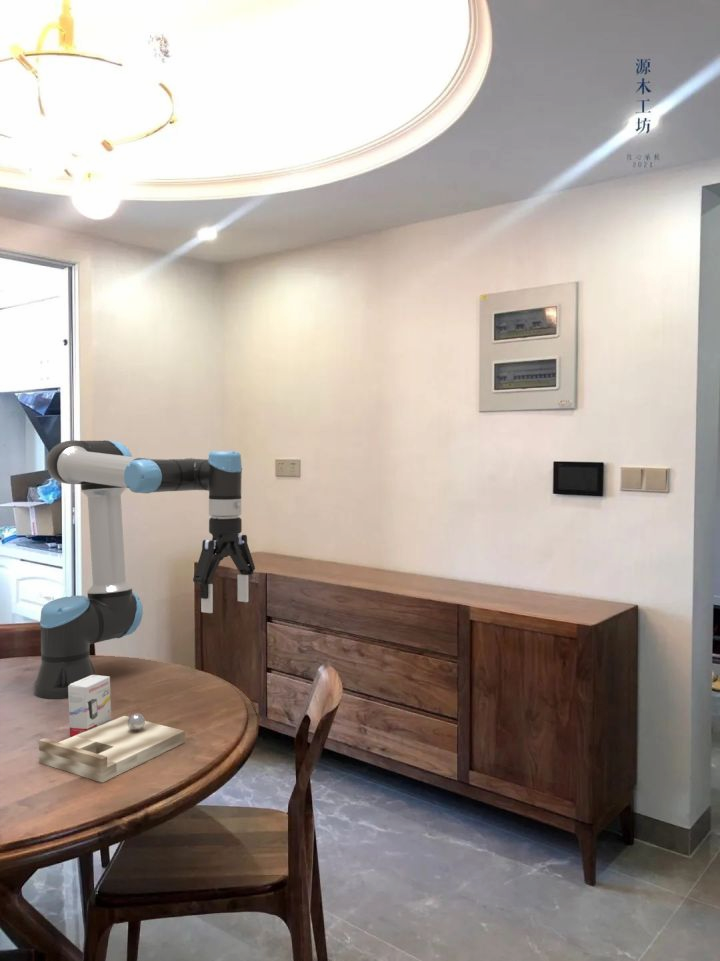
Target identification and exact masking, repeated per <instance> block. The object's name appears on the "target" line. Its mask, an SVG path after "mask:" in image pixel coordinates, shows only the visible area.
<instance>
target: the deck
mask: <svg viewBox="0 0 720 961" xmlns="http://www.w3.org/2000/svg"><path fill="white" fill-rule="evenodd" d="M129 717H130V716H126V715H123V716H120V717H118V718H115V719H111V721H110V722H107V723H105V724H103V725H100V726H98V727H95V728H93V729H90V730H88V731H85V732H83V733H80V734H78V735H75V736H73V737H70V736H69V737H68V738H66V739H63V740H61V741H59V742H58V741H54V740H51V739H48V738H41V739H39V740H38V762H39V763H40V764H43V765H46V766H49V767H51V768H56V769H58V770H61V771H65V772H68V773H71V774H73V775H77V776H80V777H84V778H87V779H90V780H92V781H95V782H99V783H105V782H107V781H109V780H111V779H113V778H115V777H117V776H118V775H121V774H123V773H125V772H127V771H129V770H131V769H133V768H135V767H137V766H140V765H141V764H144V763H145V762H149V760H151V759H154V758H155V757H158V756H160V755H162V754H165V753H166V752H168V751H170V750H172V749H174V748H176V747H178V746H180V745H182V744H185V742H186V739H185V736H186V735H185V732H186V731H185V730H182V729H178V728H174V727H171V726H167V725H162V724H159V723H155V722H151V721H146V720H145V724H144V727H143V728H142V729H141V730H139V731H132V730H130V729H129V727H128V725H127V721H128V719H129Z"/></svg>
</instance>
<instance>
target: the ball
mask: <svg viewBox="0 0 720 961" xmlns="http://www.w3.org/2000/svg"><path fill="white" fill-rule="evenodd" d="M128 717H129V719H128V721H127V725H128V727H129V729H130V730H132V731H139V730H141V729H142V728H143V727H144V724H145V721H146V719H145V717H144V716H143V714H141V713H137V712H136V713H133V714H131V715H130V716H128Z"/></svg>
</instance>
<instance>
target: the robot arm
mask: <svg viewBox="0 0 720 961" xmlns="http://www.w3.org/2000/svg"><path fill="white" fill-rule="evenodd" d="M46 469H47V471H48V474H49V475H50V476H51V477H52V478H53V480H56V481H57V482H59V483H63V484H67V485H80V488H81V489H80V490H81V492H82V493H83V494H84V495H85V496H86V497H87V506H88V509H87V510H88V526H89V542H90V560H91V575H92V579H91V580H92V585H91V587H90V588H89V589H88V590H87V596H86V595H71V596H63V597H60V598H56V599H53V600H50V601H48V602H47V603H45V604H44V606H42V608H41V610H40V621H39V625H40V653H41V654H40V656H41V657H40V658H41V663H40V665H39V669H38V672H37V675H36V679H35V682H34V687H33V688H34V690H33V692H34V695H35V696H37V697H40V698H44V699H66V698H68V686H69V685H70V684H71V683H74V682H76V681H79V680H81V679H83V678H86V677H88V676H90V675H97V674H96V672H95V668H94V666H93V663H92V661H91V658H90V645H93V644H97V643H101V642H105V641H109V640H113V639H114V640H115V639H121V638H124V637H125V636H129V635H131V634H133V633H135V632H136V630H137V629H138V628H139V627H140V624H141V622H142V618H143V614H144V612H143V604H142V601H141V599H140V596H138V594H136V593H135V592H133V587H132V586H131V585H130V584H129V583H128V582H127V581H126V578H127V576H126V564H125V547H124V546H125V545H124V529H123V512H122V493H124V491H126V489H129V490H130V491H131V492H133V493H135V494H137V493H138V494H150V493H164V492H183V491H184V492H185V491H187V492H188V491H208V515H209V516H210V517H209V519H208V532H209V534H210V535H212V539H211V540H210V539H203V540H202V545H201V552H200V555H199V558H198V561H197V562H198V563H197V565H196V569H195V572H194V575H193V578H192V581H193V582H194V583H195V584H199V597H200V604H201V605H200V606H201V607H200V608H201V610H200V611H201V613H205V614H206V613H207V614H213V610H214V607H213V606H214V605H213V604H214V602H213V601H214V600H213V597H214V592H213V590H214V589H213V588H214V586H213V583H211V582H212V580H213V577H214V576H215V573H216V571H217V569H218V568H219V565H220V563H221V561H223V560H224V558H228V557H230V558H231V561H232V562H233V563H234V565H235V567H236V569H237V570H238V572H239V573H240V574H239V573H238V574H237V602H241V603H242V602H243V603H248V602H249V586H250V576H252V575H253V574H254V571H255V570H256V566H255V562H254V560H253V556H252V554H251V550H250V548H249V545H248V536H247V535H246V534H241V533H242V530H243V529H242V528H243V527H242V518H241V517H240V516H241V515H242V473H243V472H242V471H243V468H242V457H241V454H240V452H239V451H237V450H235V451H234V450H233V451H232V450H227V451H226V450H225V451H223V450H220V451H219V450H217V451H216V450H215V451H214V450H212V451H210V452H209V453H208V458H207V459H203V458H192V457H190V458H188V457H187V458H177V459H174V458H173V459H172V458H171V459H170V458H169V459H161V458H160V459H158V458H157V459H156V458H155V459H154V458H145V457H134V456H132V453H131V452H130V450H129V448H127V446H126V445H125V444H123V443H122V442H119V441H113V440H109V439H107V440H105V439H104V440H73V439H72V440H66V441H62V442H60V443H58V444H56V445H54V446H53V447H52V448H51V450H50V451H49V452H48V454H47V457H46ZM68 699H69V698H68Z"/></svg>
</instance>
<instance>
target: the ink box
mask: <svg viewBox="0 0 720 961" xmlns="http://www.w3.org/2000/svg"><path fill="white" fill-rule="evenodd" d="M111 703H112V702H111V676H107V675H98V674H96V675H90V676H88V677H86V678H83V679H81V680H79V681H76V682H74V683H71V684H70V685H69V686H68V723H69V725H68V726H69V727H68V728H69V738H70V737H73V736H75V735H78V734H80V733H83V732H85V731H88V730H90V729H93V728H95V727H98V726H100V725H103V724H105V723H107V722H110V721H112V710H111V708H112V705H111Z"/></svg>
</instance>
